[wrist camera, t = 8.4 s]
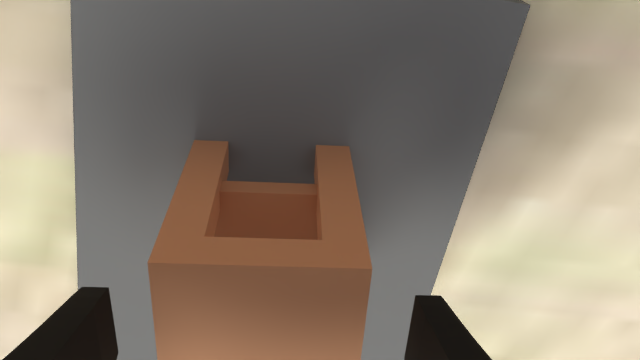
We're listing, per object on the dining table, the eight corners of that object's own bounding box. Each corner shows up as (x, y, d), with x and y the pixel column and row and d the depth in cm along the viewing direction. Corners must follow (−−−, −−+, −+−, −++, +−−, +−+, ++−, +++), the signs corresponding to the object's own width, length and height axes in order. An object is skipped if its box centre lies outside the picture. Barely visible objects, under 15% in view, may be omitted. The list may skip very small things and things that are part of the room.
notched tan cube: (348, 146, 17) (372, 269, 12) (337, 269, 19) (352, 418, 14) (194, 140, 17) (147, 262, 12) (200, 265, 19) (163, 416, 14)
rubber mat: (522, 0, 16) (530, 5, 15) (394, 380, 23) (396, 393, 22) (77, -83, 14) (68, -81, 14) (85, 349, 21) (79, 361, 21)
